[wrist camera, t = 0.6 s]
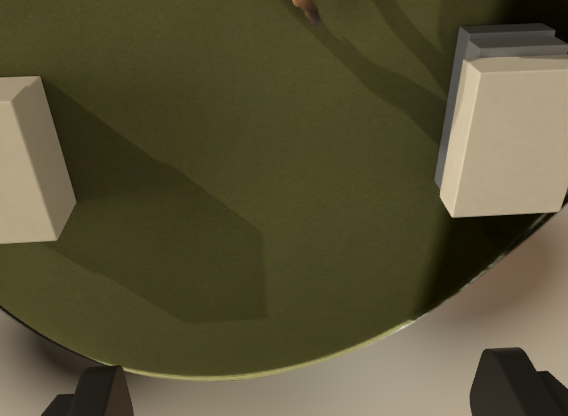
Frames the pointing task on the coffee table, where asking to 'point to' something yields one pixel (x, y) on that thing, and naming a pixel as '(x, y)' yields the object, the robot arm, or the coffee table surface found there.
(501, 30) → the grey block
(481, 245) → the coffee table surface
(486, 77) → the cream flat block
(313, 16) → the lion figurine
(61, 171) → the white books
